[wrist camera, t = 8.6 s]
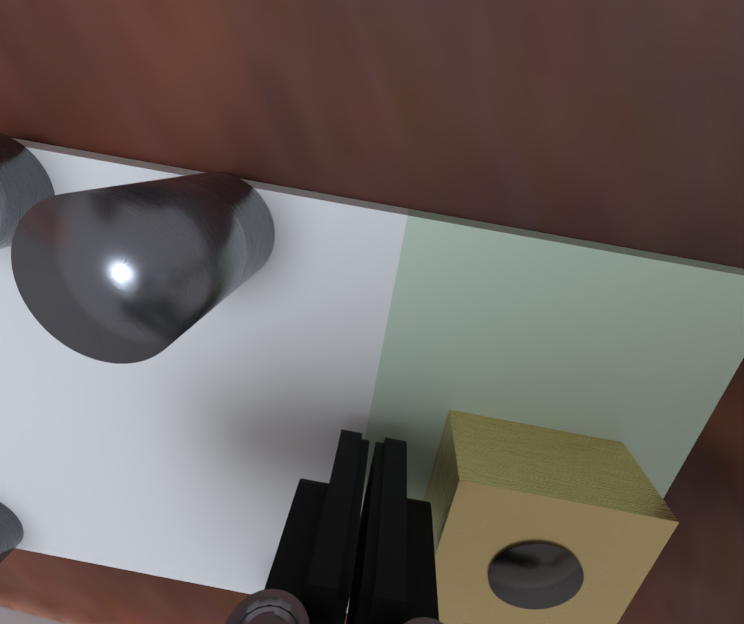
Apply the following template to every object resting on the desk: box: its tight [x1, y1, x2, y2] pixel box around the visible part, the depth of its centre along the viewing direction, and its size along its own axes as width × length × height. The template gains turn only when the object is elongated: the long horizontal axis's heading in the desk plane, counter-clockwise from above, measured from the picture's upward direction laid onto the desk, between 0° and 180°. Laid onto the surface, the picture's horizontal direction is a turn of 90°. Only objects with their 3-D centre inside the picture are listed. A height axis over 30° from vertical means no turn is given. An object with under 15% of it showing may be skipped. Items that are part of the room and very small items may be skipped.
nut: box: [423, 409, 679, 624], centre depth 10 cm, size 4×4×2 cm
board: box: [0, 138, 744, 613], centre depth 12 cm, size 26×13×1 cm, turn 81°
